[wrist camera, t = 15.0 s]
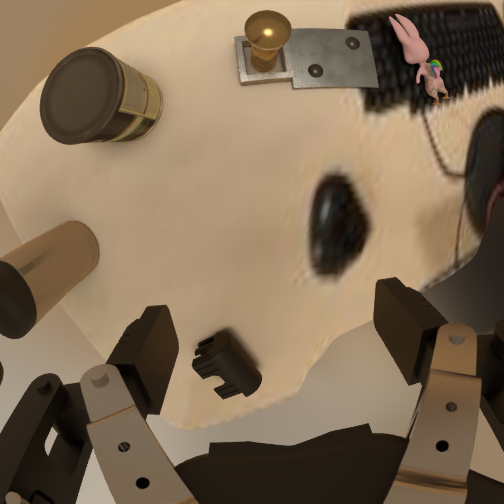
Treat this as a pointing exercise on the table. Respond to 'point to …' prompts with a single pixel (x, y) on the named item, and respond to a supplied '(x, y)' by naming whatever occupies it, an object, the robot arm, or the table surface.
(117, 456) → the robot arm
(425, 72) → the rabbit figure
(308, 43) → the grey tray fixture
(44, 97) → the coffee can
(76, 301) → the table surface
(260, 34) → the hinge pin
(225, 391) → the end cap
